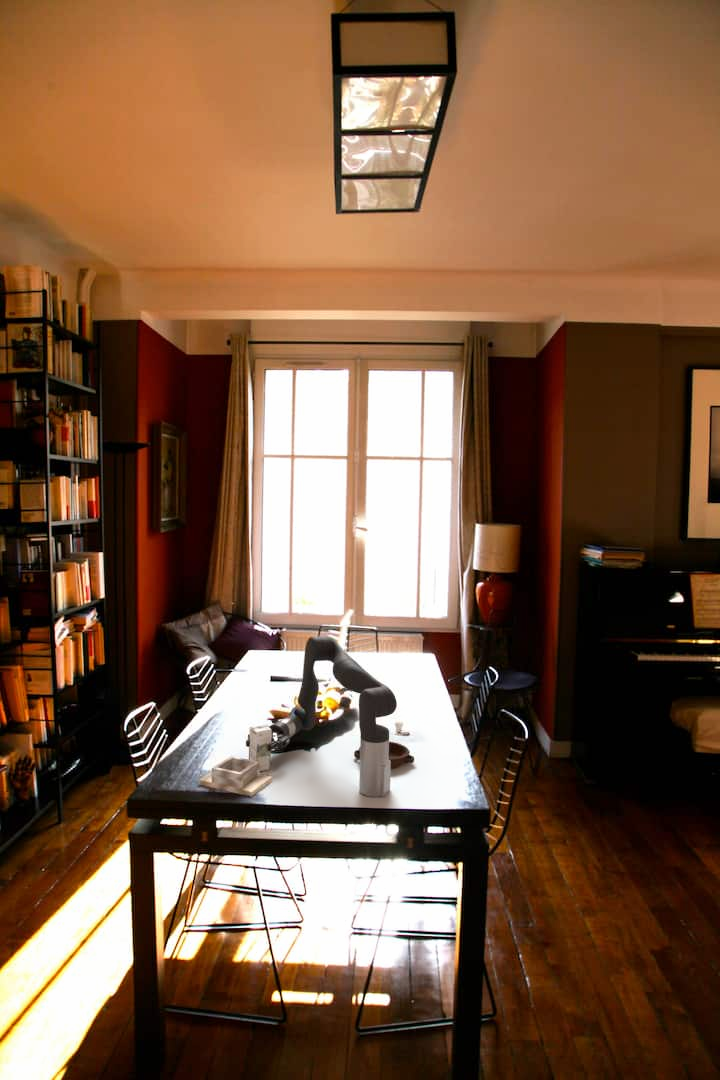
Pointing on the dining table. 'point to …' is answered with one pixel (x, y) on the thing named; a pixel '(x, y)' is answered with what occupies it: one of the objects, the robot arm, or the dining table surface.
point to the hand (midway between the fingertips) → (257, 746)
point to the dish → (395, 754)
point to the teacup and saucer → (400, 728)
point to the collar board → (236, 776)
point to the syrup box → (260, 746)
